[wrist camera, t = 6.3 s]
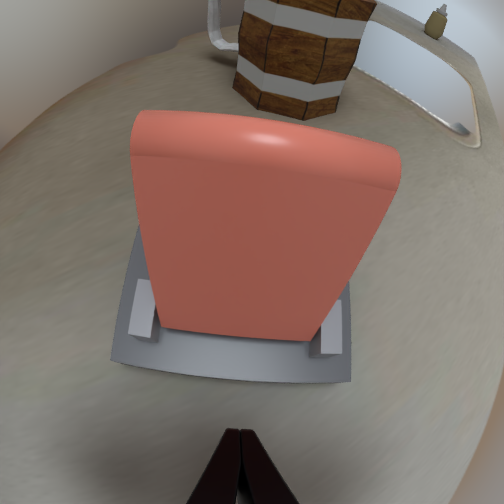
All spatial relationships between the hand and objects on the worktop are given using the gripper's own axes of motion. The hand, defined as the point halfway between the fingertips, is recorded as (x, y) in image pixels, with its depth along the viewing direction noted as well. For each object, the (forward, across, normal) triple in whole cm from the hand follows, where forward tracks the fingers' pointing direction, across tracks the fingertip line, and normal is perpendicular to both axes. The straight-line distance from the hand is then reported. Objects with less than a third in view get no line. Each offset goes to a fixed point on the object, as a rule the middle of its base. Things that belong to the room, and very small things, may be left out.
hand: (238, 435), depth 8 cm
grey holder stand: (+11, 0, +2) cm, 12 cm away
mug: (+32, -1, -19) cm, 37 cm away
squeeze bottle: (+87, -66, -77) cm, 133 cm away
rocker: (+8, 0, +1) cm, 9 cm away
